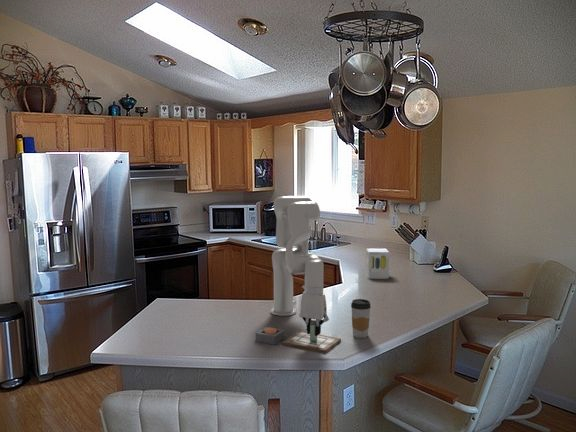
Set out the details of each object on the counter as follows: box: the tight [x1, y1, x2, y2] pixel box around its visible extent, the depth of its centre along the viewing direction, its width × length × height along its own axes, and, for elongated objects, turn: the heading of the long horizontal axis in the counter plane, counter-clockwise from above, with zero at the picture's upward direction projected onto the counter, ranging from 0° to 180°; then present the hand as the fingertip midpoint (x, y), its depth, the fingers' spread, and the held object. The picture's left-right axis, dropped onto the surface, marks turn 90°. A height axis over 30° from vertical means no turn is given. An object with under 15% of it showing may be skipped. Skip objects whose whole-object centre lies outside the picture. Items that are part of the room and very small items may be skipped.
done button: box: [264, 327, 276, 335], centre depth 206 cm, size 5×5×2 cm
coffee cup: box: [350, 298, 371, 339], centre depth 210 cm, size 8×8×15 cm
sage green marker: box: [310, 319, 317, 342], centre depth 200 cm, size 3×3×8 cm
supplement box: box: [365, 247, 390, 280], centre depth 320 cm, size 13×13×18 cm
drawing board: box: [282, 330, 342, 354], centre depth 203 cm, size 15×19×1 cm
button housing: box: [255, 326, 286, 345], centre depth 206 cm, size 9×9×3 cm
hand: (313, 333), depth 200 cm, fingers closed on sage green marker, 3 cm apart
